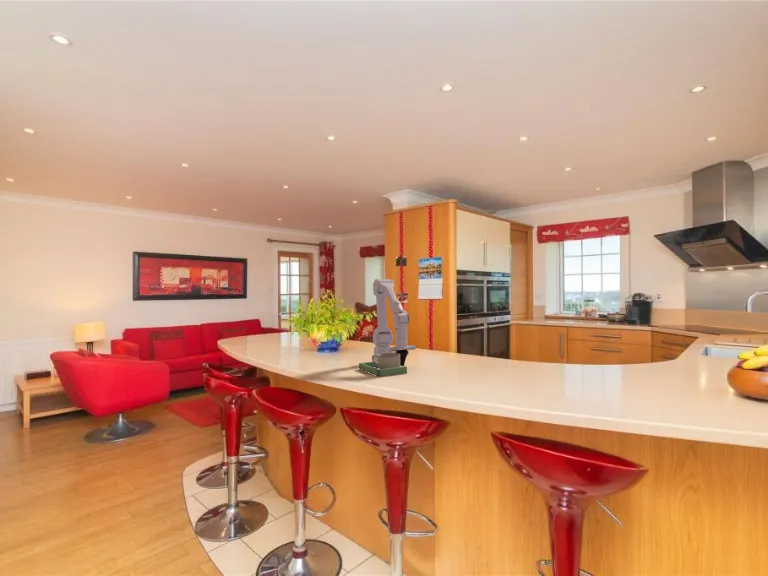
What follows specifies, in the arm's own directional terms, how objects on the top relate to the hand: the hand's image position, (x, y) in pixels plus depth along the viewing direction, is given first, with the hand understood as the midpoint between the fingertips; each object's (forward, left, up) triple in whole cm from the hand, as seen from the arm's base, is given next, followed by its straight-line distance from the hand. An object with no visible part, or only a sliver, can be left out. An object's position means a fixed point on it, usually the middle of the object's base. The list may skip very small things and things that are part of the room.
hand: (402, 365), depth 184 cm
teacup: (0, -9, -2) cm, 9 cm away
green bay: (0, -11, -1) cm, 11 cm away
